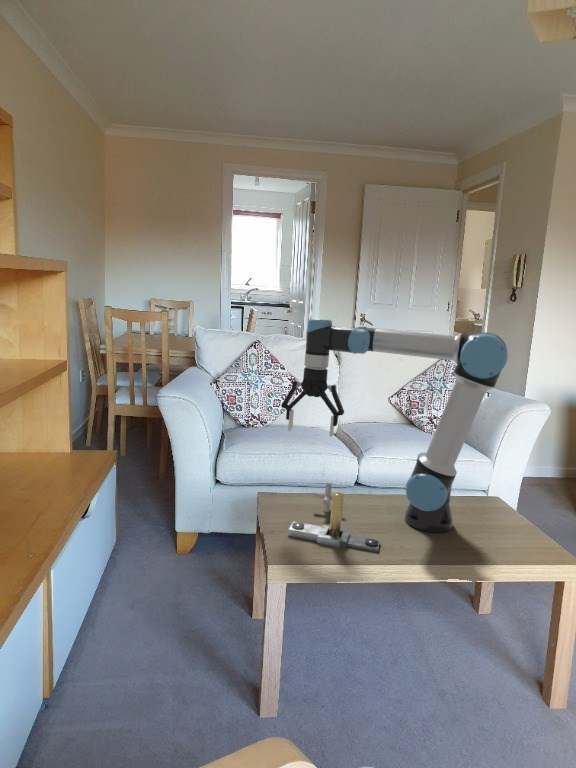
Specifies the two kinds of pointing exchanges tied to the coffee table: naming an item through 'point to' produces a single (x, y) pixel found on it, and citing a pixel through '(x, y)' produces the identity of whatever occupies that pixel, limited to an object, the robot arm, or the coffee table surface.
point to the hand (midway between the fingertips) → (310, 432)
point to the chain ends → (332, 537)
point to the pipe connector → (325, 496)
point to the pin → (336, 514)
